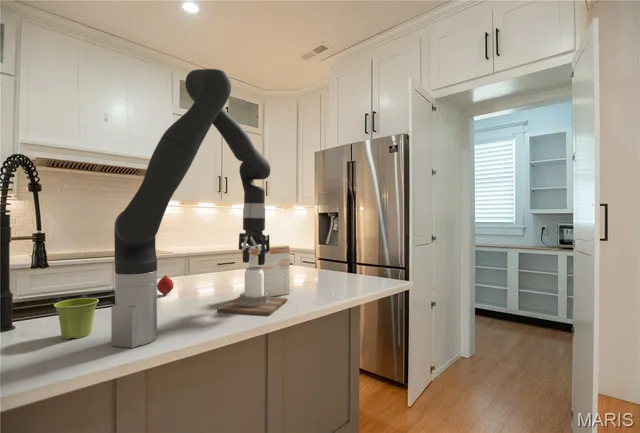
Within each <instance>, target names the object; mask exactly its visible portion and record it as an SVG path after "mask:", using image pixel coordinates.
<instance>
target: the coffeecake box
mask: <svg viewBox="0 0 640 433" xmlns="http://www.w3.org/2000/svg"><path fill="white" fill-rule="evenodd" d="M269 246H270V251H269V252H266V253H265V263H264V265H258V254H259V253H258V251H257V249H256V248H255V247H254V246H252V247H251V248H250V250H249V251H248V252H249V262H248V267H262V270H263V272H264V292H268V293H269V297H278V296H283V295H290V246H289V245H286V244H274V245H271V244H269ZM260 249H261V248H260ZM265 249H266V245H265ZM261 250H262V249H261Z"/></svg>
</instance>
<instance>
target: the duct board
mask: <svg viewBox="0 0 640 433" xmlns="http://www.w3.org/2000/svg"><path fill="white" fill-rule="evenodd" d="M287 302H288V297H278V296H272V297H269V293H268V292H264V296H259V297H246V296H245V291H244V292H242V293H239V296H238V297H236V298H234V299H232V300H230V301H229V302H227V303H225V304H223V305H221V306H219V307H217V308H216V309H217V310H216V311H217V313H230V314H240V315H241V314H243V315H256V316H257V315H259V316H271V315H273V313H275V312H276V311H277V310H279V308H281V307H282V306H284V305H285V304H286V303H287Z"/></svg>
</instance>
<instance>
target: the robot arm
mask: <svg viewBox="0 0 640 433" xmlns="http://www.w3.org/2000/svg"><path fill="white" fill-rule="evenodd" d="M185 89H186V93H187V94H188V95H189V97H190V99H191V100H192V101H193V103H192V105H190V106H191V107H190V108H189V109H188V110H187V111H186V112H185V113H184V114H182V116H181V117H180V118H178V119H177V120H176V121H175V122H173V123H172V124H171V125H170V126H169V127H168V128H167V129H166V130H165V131H164V133H163V134H162V136H161V138H160V140H159V141H158V143H157V145H156V147H155V149H154V151H153V153H152V155H151V157H150V160H149V161H148V165H147V168H146V170H145V173H144V178H143V180H142V182H141V184H140V187H139V188H138V189H137V191H136V193H135V194H134V196H133V197H132V199H131V200H130V202H129V203H128V204H127V206H126V207H125V208H124V210H123V211H121V212H120V213H119V214H118V216H117V217H116V219H115V220H114V221H115V222H114V230H113V231H114V232H113V233H114V235H113V236H114V305H112V306H111V321H110V322H111V329H110V330H111V331H110V332H111V336H110V338H111V344H110V345H111V347H120V348H129V349H131V348H132V349H133V348H136V347H139V346H143V345H147V344H149V343H152V342H154V341H155V340H156V339H157V337H158V289H157V284H158V259H157V252H156V250H157V247H156V236H157V234H158V232H159V230H160V226H161V223H162V221H163V218H164V215H165V213H166V210H167V208H168V205H169V202H170V201H171V199H172V197H173V195H174V193H175V191H176V190H177V189H178V187H179V186H180V184H182V182H183V179H184V178H185V177H186V175H187V173H188V171H189V169H190V167H191V166H192V164H193V161H194V160H195V158H196V156H197V154H198V153H199V152H198V151H199V149H200V147H201V145H202V143H203V141H204V140H205V137H206V136H207V134H208V132H209V131H210V128H211V126H212V125H213V127H215V128H216V130H217V131H218V132H219V134H220V136H221V137H222V138H223V139H224V141H225V143H226V144H227V145H228V147H229V149H230V151H231V152H232V153H233V155H234V157H235V159H237V160H238V161H240V162H241V163H240V165H239V175H240V180H241V185H242V188H243V192H244V193H243V194H244V195H243V208H242V209H243V210H242V230H243V231H245V232H240V233H239V235H238V250H240V251H241V252H242V263H246V264H247V263H248V264H249V250H250V248H251V247H255V248H256V249H257V251H258V253H259V254H258V265H264V263H265V253H266V252H269V251H270V246H269V245H270V234H268V233H265V234H264V232H263V231H265V230H266V208H265V207H266V205H265V203H266V202H265V200H266V199H265V198H266V197H265V196H266V193H265V191H266V190H265V188H264V187H261V186H258V185H256V184H255V181H257V180H265V179H267V178H268V177H270V174H271V165H270V163H269V161H268V159H267V158H266V157H265V156H264V155H263V154H262V153H261V152H260V151H259V150H258V149H257V148H256V147H255V146H254V144H253V142H252V140H251V139H250V137H249V134H248V133H247V132H246V130H245V129H244V128H243V127H242V125H241V124H239V123H238V122H237V121H236V120H235V119H234V118H233V117H232V116H231V115H230V114H229V113H228V112H227V111H226V110H225V108H224V106H226V104H227V102H228V100H229V99H230V94H231V92H232V82H231V79H230V77H229V75H228V74H227V73H226V72H225V71H223V70H221V69H217V68H202V69H198V68H197V69H194V70H191V71H189V72H188V73H187V76H186V77H185ZM265 246H266V249H265ZM260 248H261V249H262V250H261V249H260Z"/></svg>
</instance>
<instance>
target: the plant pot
mask: <svg viewBox="0 0 640 433" xmlns="http://www.w3.org/2000/svg"><path fill="white" fill-rule="evenodd" d="M99 301H100V300H99V299H98V298H94V297H85V298H84V297H82V298H72V299H65V300H61V301H58V302H56V303H54V304H53V307H54V308H55V309H56V313H57V315H58V320H59V321H58V323H59V327H60V333H61V338H62V339H66V340H71V339H72V338H75V339H79V338H84V337H87V336H88V335H90V334H91V333H92V328H93V323H94V315H95V312H96V311H95V310H96V308H97V305H98V303H99Z"/></svg>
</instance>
